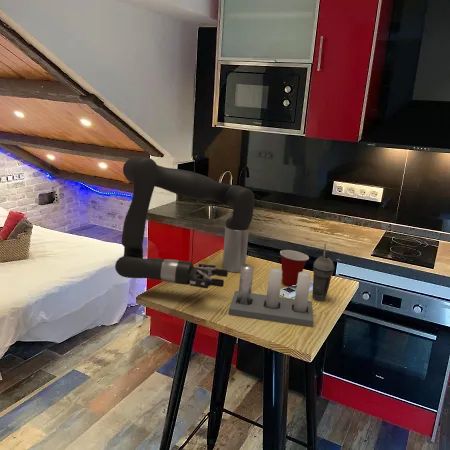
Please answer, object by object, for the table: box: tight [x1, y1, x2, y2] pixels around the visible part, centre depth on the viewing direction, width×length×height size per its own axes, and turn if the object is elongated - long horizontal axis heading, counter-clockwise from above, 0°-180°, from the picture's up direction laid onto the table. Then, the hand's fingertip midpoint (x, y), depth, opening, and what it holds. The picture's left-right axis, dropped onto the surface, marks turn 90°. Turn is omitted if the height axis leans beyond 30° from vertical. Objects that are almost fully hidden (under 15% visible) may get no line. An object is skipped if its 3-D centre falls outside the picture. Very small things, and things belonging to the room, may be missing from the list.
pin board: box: [228, 267, 314, 328], centre depth 138 cm, size 14×26×14 cm, turn 81°
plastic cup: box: [279, 249, 310, 287], centre depth 161 cm, size 11×11×12 cm
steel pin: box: [237, 263, 255, 306], centre depth 139 cm, size 4×4×14 cm
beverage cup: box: [312, 243, 335, 302], centre depth 149 cm, size 7×7×20 cm
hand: (225, 278), depth 139 cm, fingers open, 8 cm apart
